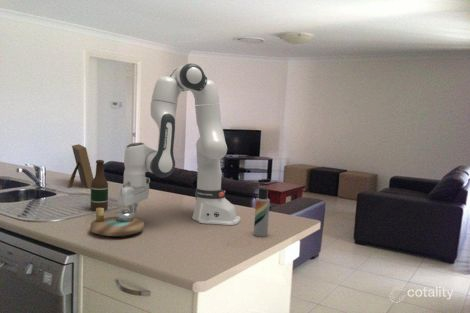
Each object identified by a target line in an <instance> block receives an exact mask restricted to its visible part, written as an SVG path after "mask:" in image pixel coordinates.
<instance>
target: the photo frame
mask: <svg viewBox="0 0 470 313" xmlns="http://www.w3.org/2000/svg"><path fill="white" fill-rule="evenodd" d="M71 148H72V152H73V156H74V161H75V164H76V165H75V167H74V169H73V172H72V174H71V175H70V176H71V177H69V181H68V185H67V188H68V189H69V188H71V187H73V184H74V181H75V178H76V175H77V172H78V175H79V179H80V183H81V184H82V185H84V187H86V188H87V189H91V183H92V181H93V179H94V176H93V175H94V174H93V172H92V171H93V170H92V167H91V163H90V158H89V155H88V154H89V153H88V151H87V147H86V146H84V145H81V144H80V143H78V144H74V145H71Z"/></svg>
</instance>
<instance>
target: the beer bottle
mask: <svg viewBox="0 0 470 313" xmlns="http://www.w3.org/2000/svg"><path fill="white" fill-rule="evenodd" d="M95 163H96V167H95V175H94V177H93V181H92V183H91V188H90V211H92V212H95V211H96V208H104V212H106V211H107V210H108V206H109V183H108V180H107V178H106V177H105V164H104V163H105V161H104V160H103V159H96V161H95ZM105 210H106V211H105Z"/></svg>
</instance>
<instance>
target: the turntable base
mask: <svg viewBox="0 0 470 313" xmlns="http://www.w3.org/2000/svg"><path fill="white" fill-rule="evenodd" d="M132 235H133V234H130V235H123V236H106V235H101V236H103V237H107V238H123V237H128V236H132Z"/></svg>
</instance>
